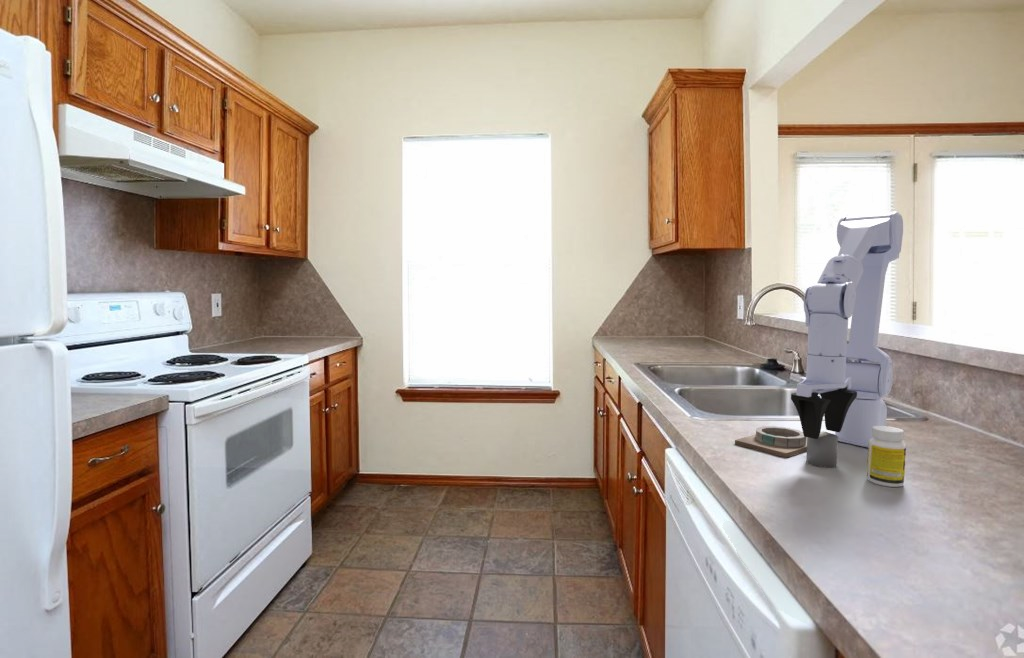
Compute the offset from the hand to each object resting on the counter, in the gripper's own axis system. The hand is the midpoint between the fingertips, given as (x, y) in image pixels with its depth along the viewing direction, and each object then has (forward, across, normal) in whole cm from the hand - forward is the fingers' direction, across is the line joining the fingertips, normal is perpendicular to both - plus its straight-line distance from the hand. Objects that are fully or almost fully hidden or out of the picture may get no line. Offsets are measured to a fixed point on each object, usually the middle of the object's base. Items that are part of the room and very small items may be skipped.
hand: (822, 434), depth 92 cm
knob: (+5, 0, 0) cm, 5 cm away
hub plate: (+5, -5, -10) cm, 12 cm away
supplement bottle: (+5, +1, +10) cm, 11 cm away
